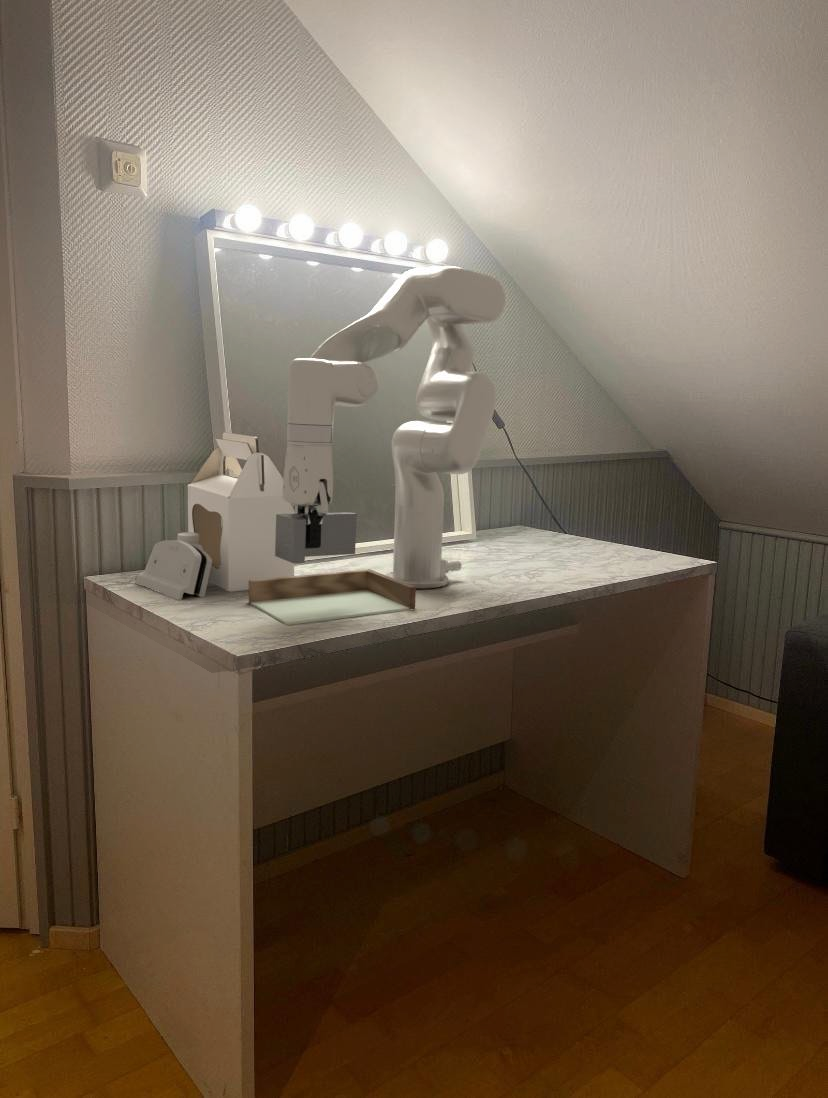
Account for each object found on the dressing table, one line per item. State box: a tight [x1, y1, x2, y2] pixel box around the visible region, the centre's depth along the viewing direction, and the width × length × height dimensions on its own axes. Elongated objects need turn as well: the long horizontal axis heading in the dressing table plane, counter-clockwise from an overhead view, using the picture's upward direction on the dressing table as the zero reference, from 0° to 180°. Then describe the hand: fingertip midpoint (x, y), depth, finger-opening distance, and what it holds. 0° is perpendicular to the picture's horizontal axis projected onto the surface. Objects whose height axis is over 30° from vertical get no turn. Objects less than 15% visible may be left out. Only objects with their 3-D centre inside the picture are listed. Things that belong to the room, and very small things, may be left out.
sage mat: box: [250, 590, 410, 626], centre depth 144 cm, size 23×15×1 cm, turn 123°
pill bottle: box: [177, 531, 203, 550], centre depth 161 cm, size 5×5×9 cm
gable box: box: [187, 432, 295, 593], centre depth 162 cm, size 22×13×28 cm, turn 34°
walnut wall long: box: [248, 568, 374, 605], centre depth 151 cm, size 24×1×4 cm, turn 123°
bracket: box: [275, 511, 358, 564], centre depth 139 cm, size 7×14×7 cm, turn 123°
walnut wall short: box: [367, 570, 417, 611], centre depth 150 cm, size 1×15×4 cm, turn 33°
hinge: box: [134, 539, 212, 601], centre depth 153 cm, size 17×5×10 cm, turn 45°
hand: (307, 545), depth 140 cm, fingers closed on bracket
